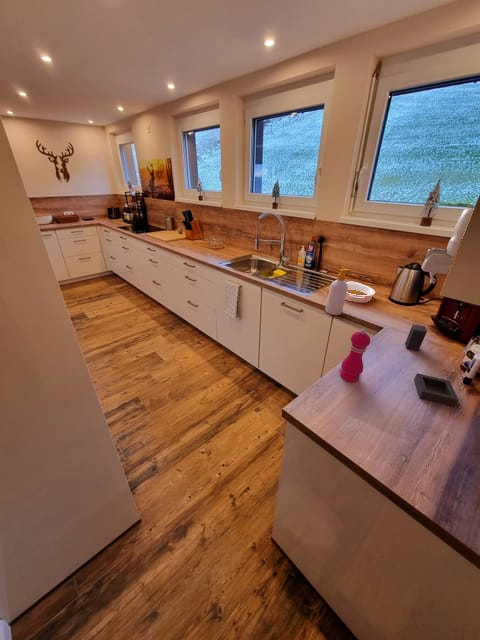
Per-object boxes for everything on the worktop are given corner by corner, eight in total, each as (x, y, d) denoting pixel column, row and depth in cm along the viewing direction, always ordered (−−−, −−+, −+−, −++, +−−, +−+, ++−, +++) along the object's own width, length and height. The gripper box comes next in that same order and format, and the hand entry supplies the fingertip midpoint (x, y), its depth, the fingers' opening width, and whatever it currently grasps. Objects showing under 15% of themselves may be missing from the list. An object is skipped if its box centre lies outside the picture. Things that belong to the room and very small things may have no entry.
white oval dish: (376, 308, 149) (378, 300, 146) (335, 302, 154) (337, 294, 152) (370, 290, 173) (372, 283, 171) (334, 285, 178) (336, 279, 176)
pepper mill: (361, 375, 96) (377, 328, 87) (357, 386, 91) (373, 337, 81) (341, 367, 100) (354, 321, 90) (336, 377, 94) (349, 330, 85)
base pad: (445, 387, 92) (449, 380, 91) (454, 407, 84) (458, 400, 82) (413, 379, 95) (416, 373, 94) (419, 398, 87) (422, 391, 85)
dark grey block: (416, 346, 115) (424, 326, 111) (418, 351, 111) (427, 331, 107) (404, 343, 117) (412, 324, 112) (406, 349, 113) (414, 329, 108)
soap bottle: (345, 315, 139) (356, 272, 128) (327, 315, 139) (337, 271, 127) (339, 308, 146) (349, 267, 135) (323, 308, 146) (331, 266, 135)
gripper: (430, 249, 100) (417, 283, 107) (496, 256, 94) (478, 291, 101) (427, 245, 105) (414, 278, 112) (488, 252, 99) (472, 286, 106)
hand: (445, 284), depth 106 cm, fingers open, 8 cm apart
